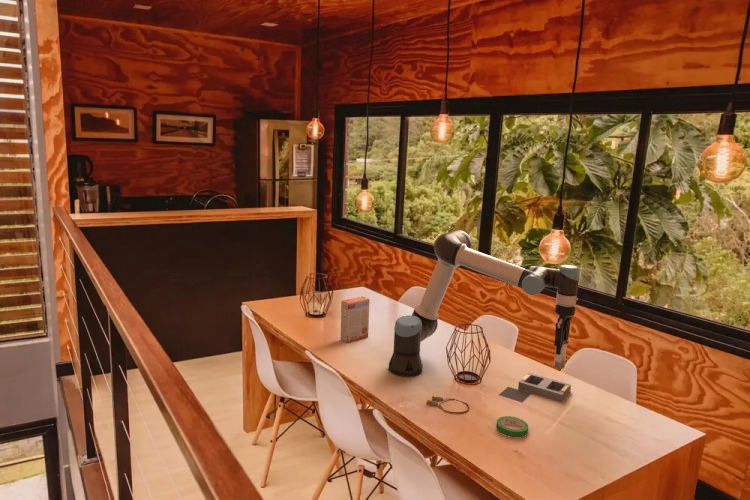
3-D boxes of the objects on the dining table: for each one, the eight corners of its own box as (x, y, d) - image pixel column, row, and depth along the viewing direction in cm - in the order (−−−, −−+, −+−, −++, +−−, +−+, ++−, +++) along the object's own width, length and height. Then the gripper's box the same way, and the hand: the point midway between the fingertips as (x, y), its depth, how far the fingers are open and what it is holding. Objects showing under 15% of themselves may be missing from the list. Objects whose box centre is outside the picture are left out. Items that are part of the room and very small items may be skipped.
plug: (562, 369, 222) (565, 342, 220) (552, 366, 224) (555, 340, 222) (565, 366, 225) (568, 340, 223) (555, 363, 228) (558, 338, 225)
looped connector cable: (442, 394, 225) (442, 390, 224) (475, 408, 214) (475, 404, 213) (423, 403, 216) (423, 399, 216) (456, 419, 205) (456, 414, 205)
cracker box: (361, 334, 287) (362, 295, 283) (368, 338, 282) (370, 298, 278) (339, 339, 278) (340, 299, 274) (346, 343, 274) (348, 303, 269)
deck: (522, 404, 218) (522, 402, 218) (498, 397, 224) (498, 394, 223) (531, 395, 226) (531, 393, 226) (507, 388, 232) (508, 386, 231)
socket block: (561, 404, 220) (562, 394, 219) (517, 390, 230) (518, 381, 229) (570, 393, 230) (571, 384, 229) (527, 381, 240) (528, 372, 239)
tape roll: (527, 425, 203) (527, 418, 203) (528, 440, 192) (529, 433, 192) (496, 420, 205) (497, 413, 205) (495, 435, 195) (496, 428, 194)
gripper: (569, 310, 211) (562, 368, 216) (581, 301, 224) (574, 356, 229) (549, 306, 215) (543, 363, 220) (562, 298, 229) (556, 351, 233)
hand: (559, 359), depth 224 cm, fingers closed on plug, 3 cm apart
